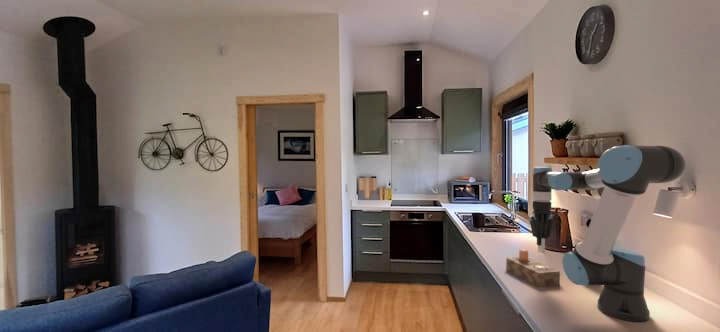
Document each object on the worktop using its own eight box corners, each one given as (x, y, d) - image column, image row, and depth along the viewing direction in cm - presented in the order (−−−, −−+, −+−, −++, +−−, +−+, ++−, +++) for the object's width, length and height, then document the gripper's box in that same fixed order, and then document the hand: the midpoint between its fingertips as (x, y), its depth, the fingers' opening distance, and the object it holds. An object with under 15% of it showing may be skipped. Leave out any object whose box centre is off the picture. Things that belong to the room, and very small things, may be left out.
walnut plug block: (559, 284, 149) (559, 271, 149) (538, 286, 147) (538, 273, 147) (525, 268, 171) (525, 256, 171) (506, 269, 169) (506, 257, 168)
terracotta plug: (529, 263, 163) (530, 251, 162) (522, 264, 162) (523, 251, 162) (524, 261, 167) (524, 249, 166) (517, 261, 166) (517, 249, 165)
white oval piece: (546, 281, 152) (547, 268, 152) (539, 281, 151) (539, 268, 151) (540, 278, 156) (540, 265, 156) (533, 278, 155) (533, 265, 155)
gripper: (547, 199, 157) (547, 249, 158) (523, 200, 155) (523, 250, 155) (560, 201, 150) (559, 253, 150) (535, 202, 147) (534, 255, 148)
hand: (541, 252), depth 153 cm, fingers closed
